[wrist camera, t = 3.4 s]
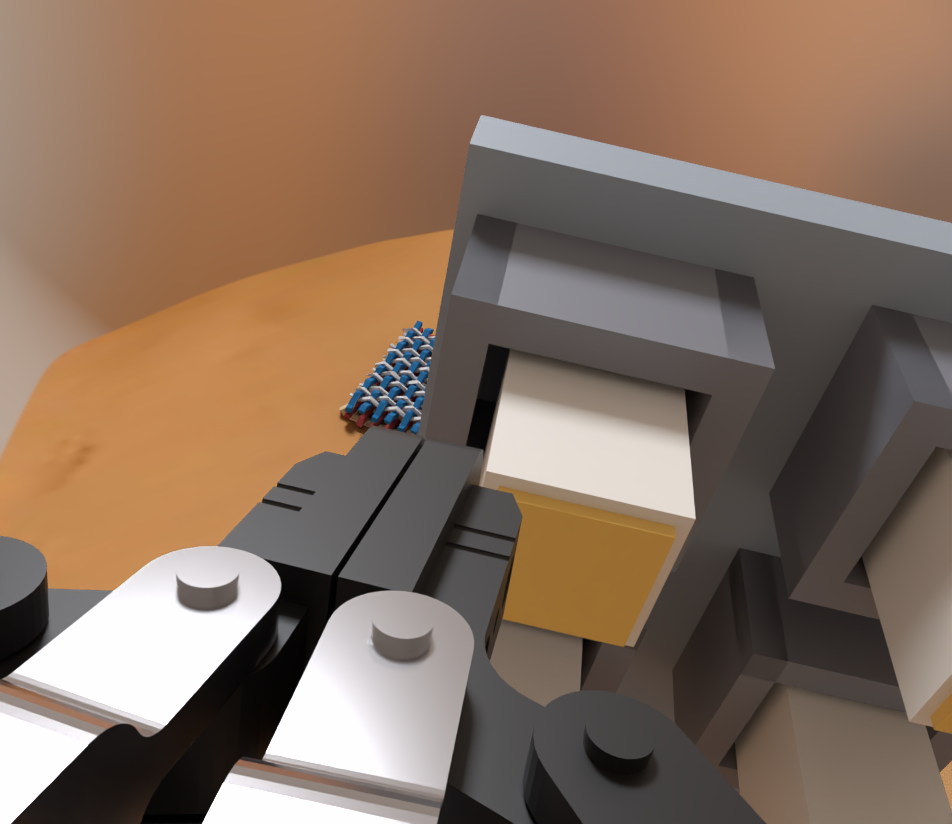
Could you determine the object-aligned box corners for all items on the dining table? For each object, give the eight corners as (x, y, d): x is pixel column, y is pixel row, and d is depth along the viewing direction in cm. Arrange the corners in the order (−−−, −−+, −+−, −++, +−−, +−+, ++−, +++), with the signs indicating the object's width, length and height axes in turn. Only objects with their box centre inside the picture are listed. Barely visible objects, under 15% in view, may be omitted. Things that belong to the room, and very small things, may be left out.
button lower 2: (855, 763, 28) (915, 693, 25) (894, 941, 24) (972, 879, 21) (733, 735, 28) (783, 662, 25) (752, 909, 24) (812, 843, 21)
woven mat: (556, 392, 55) (563, 367, 54) (502, 494, 47) (509, 467, 46) (408, 337, 57) (412, 311, 56) (331, 426, 49) (333, 398, 48)
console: (779, 682, 40) (1106, 208, 25) (816, 910, 32) (1325, 419, 17) (399, 594, 40) (499, 68, 25) (343, 801, 32) (440, 216, 17)
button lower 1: (552, 693, 28) (583, 616, 25) (539, 860, 24) (574, 787, 21) (431, 665, 28) (451, 586, 25) (396, 827, 24) (416, 751, 21)
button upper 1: (632, 490, 22) (682, 367, 20) (633, 658, 18) (696, 530, 16) (483, 455, 22) (514, 329, 20) (450, 616, 18) (484, 481, 16)
